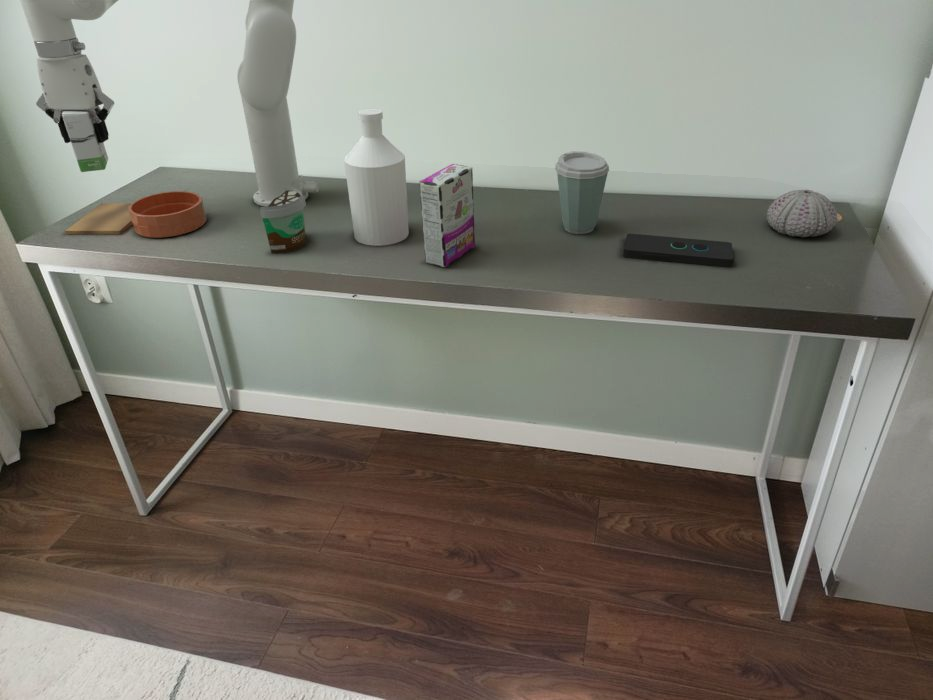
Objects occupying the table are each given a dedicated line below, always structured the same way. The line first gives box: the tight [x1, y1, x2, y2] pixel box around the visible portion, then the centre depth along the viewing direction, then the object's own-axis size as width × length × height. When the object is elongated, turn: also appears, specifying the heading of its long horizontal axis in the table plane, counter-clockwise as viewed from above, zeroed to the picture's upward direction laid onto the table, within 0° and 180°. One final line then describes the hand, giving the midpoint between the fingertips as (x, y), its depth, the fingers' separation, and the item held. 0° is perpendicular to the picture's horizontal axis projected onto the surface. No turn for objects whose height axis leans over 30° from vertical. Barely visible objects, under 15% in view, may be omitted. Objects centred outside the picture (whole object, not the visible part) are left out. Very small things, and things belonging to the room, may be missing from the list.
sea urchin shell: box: [766, 189, 838, 238], centre depth 141 cm, size 13×14×8 cm
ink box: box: [62, 110, 109, 173], centre depth 146 cm, size 9×5×12 cm, turn 19°
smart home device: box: [622, 233, 734, 268], centre depth 134 cm, size 8×2×20 cm
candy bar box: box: [418, 163, 476, 268], centre depth 132 cm, size 11×5×16 cm, turn 148°
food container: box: [259, 187, 307, 254], centre depth 140 cm, size 12×6×10 cm, turn 168°
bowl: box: [128, 190, 208, 239], centre depth 151 cm, size 15×15×5 cm
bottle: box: [343, 108, 410, 247], centre depth 139 cm, size 12×12×25 cm
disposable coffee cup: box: [554, 151, 610, 235], centre depth 142 cm, size 11×11×15 cm
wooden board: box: [64, 202, 133, 235], centre depth 155 cm, size 12×16×1 cm
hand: (86, 140), depth 146 cm, fingers closed on ink box, 6 cm apart
